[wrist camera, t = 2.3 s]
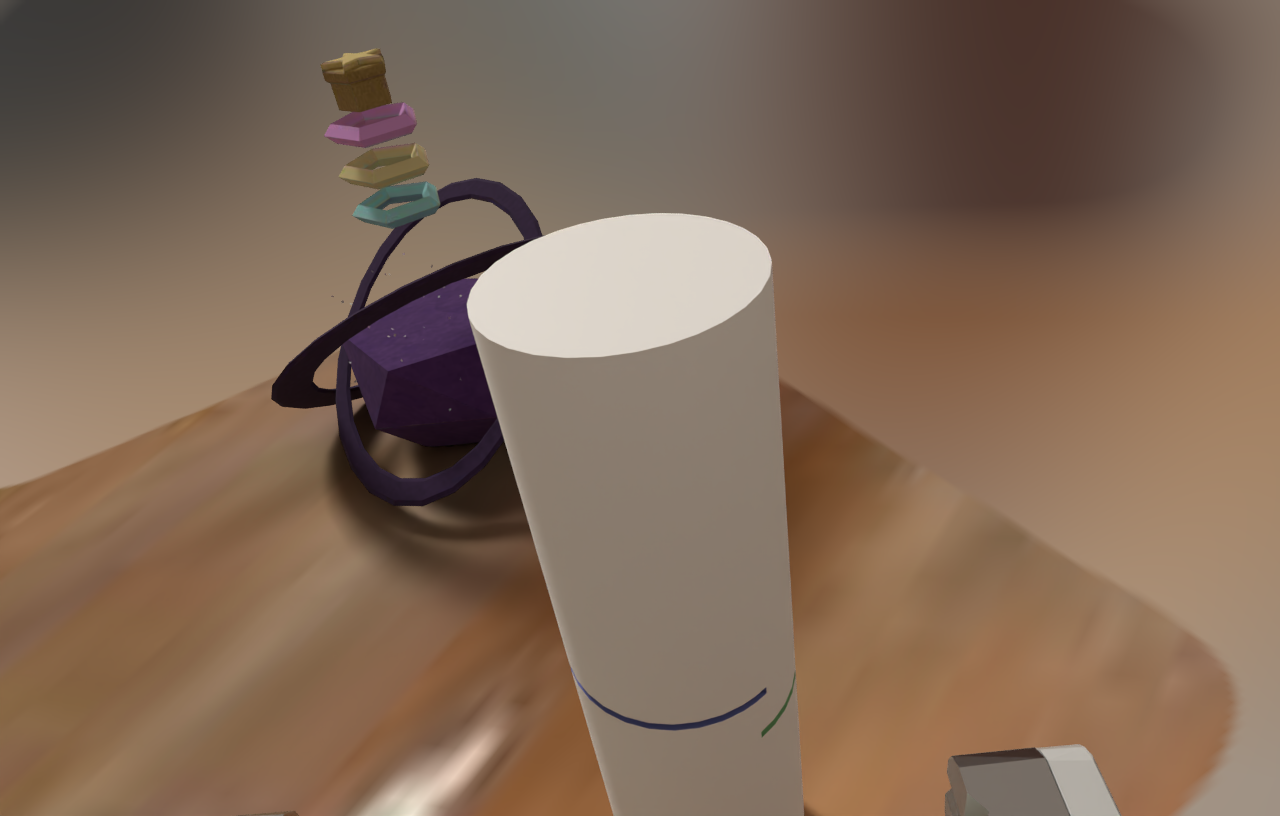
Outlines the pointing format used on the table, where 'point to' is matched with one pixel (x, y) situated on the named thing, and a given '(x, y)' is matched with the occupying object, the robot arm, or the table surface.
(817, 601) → the table surface
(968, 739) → the table surface
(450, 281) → the decorative bottle
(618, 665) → the cylindrical container
